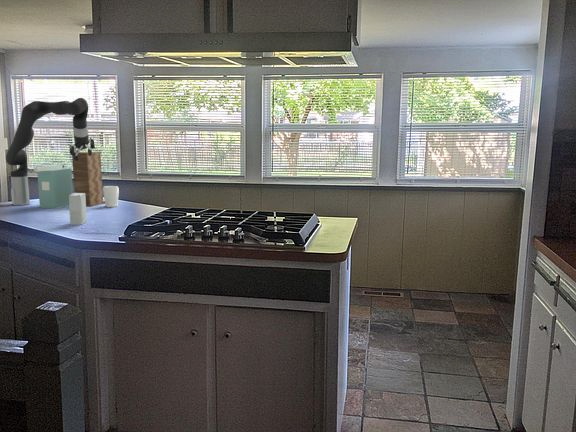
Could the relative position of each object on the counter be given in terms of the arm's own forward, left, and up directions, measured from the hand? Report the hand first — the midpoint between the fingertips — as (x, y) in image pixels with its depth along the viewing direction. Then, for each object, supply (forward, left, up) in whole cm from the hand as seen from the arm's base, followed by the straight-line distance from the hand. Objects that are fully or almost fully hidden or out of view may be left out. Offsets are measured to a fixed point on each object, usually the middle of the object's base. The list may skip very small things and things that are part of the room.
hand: (83, 157), depth 298 cm
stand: (+8, +18, -30) cm, 35 cm away
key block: (-9, +25, -30) cm, 40 cm away
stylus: (-13, +22, -8) cm, 27 cm away
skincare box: (-19, -43, -30) cm, 56 cm away
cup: (+16, +3, -30) cm, 34 cm away
